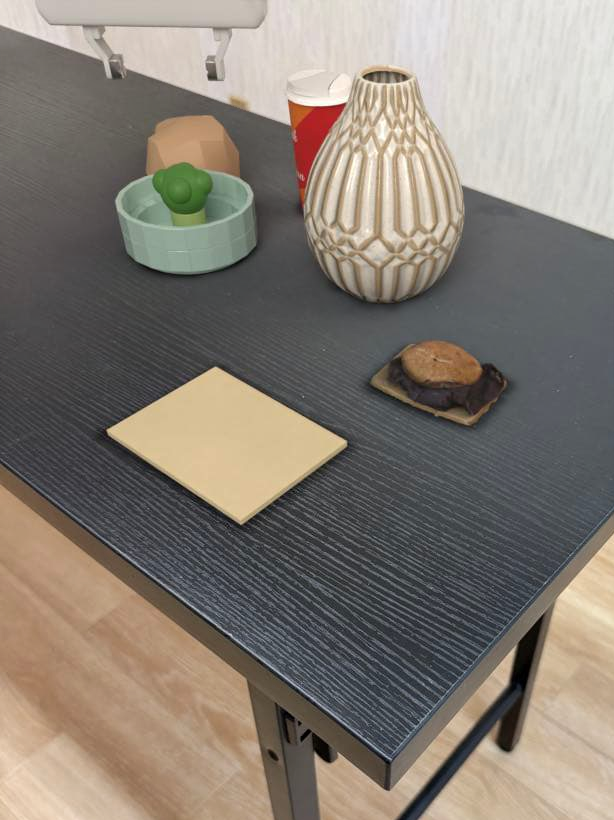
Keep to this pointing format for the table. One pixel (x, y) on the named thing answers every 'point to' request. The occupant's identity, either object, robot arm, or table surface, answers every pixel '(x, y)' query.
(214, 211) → the bowl
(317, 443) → the mat
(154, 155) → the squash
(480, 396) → the brown round-topped food
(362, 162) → the vase
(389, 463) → the table surface
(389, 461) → the table surface
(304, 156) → the paper cup
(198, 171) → the broccoli
